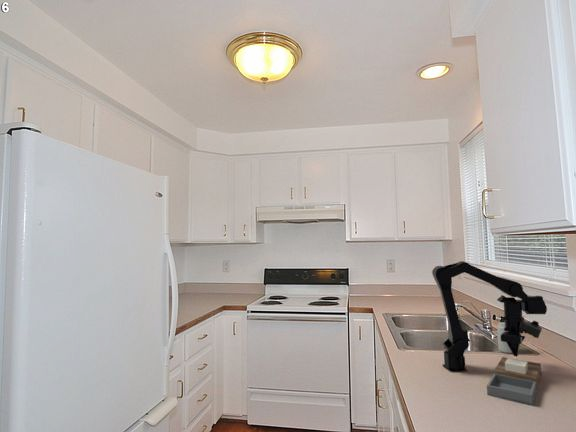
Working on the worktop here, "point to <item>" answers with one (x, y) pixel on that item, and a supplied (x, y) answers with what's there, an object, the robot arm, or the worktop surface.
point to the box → (512, 389)
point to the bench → (531, 374)
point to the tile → (516, 365)
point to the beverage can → (502, 345)
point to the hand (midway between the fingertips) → (515, 356)
